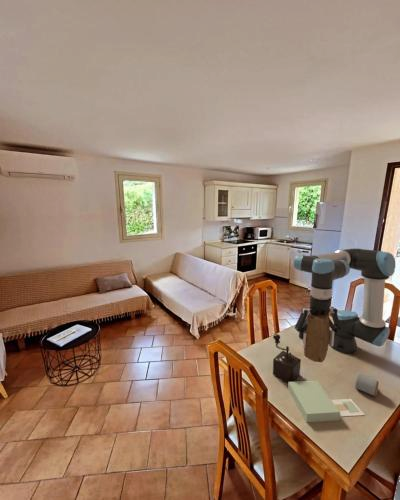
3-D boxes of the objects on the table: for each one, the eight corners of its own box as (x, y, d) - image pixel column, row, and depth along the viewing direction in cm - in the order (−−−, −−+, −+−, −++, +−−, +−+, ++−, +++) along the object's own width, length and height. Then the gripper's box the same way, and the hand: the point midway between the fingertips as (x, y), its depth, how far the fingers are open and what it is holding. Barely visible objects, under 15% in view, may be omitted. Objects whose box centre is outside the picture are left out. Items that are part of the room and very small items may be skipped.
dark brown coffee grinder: (301, 374, 116) (303, 343, 113) (291, 385, 109) (293, 353, 105) (274, 360, 127) (275, 331, 124) (263, 369, 120) (264, 339, 117)
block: (320, 366, 88) (324, 320, 85) (301, 357, 94) (304, 313, 90) (329, 354, 95) (333, 311, 92) (311, 346, 101) (315, 305, 97)
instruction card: (350, 399, 100) (350, 398, 100) (364, 415, 92) (364, 414, 92) (329, 400, 100) (329, 399, 100) (341, 416, 92) (341, 416, 92)
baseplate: (315, 387, 107) (316, 380, 106) (339, 420, 90) (340, 411, 90) (287, 389, 107) (288, 381, 106) (306, 422, 90) (306, 414, 89)
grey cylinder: (376, 400, 99) (378, 385, 98) (354, 390, 105) (356, 376, 104) (378, 387, 107) (380, 373, 106) (357, 378, 113) (359, 365, 111)
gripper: (296, 301, 85) (293, 351, 89) (355, 299, 86) (349, 349, 90) (287, 294, 93) (285, 341, 97) (342, 292, 94) (337, 338, 98)
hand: (316, 345), depth 93 cm, fingers closed on block, 11 cm apart
